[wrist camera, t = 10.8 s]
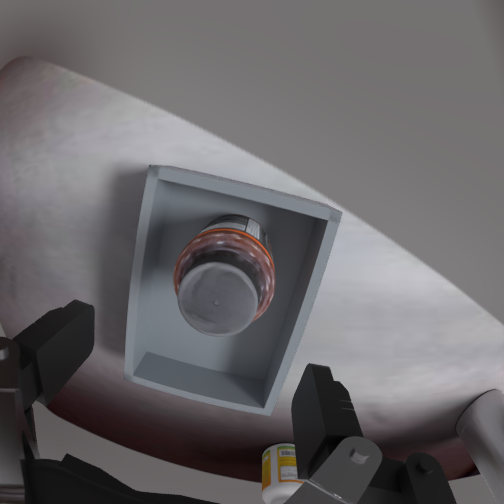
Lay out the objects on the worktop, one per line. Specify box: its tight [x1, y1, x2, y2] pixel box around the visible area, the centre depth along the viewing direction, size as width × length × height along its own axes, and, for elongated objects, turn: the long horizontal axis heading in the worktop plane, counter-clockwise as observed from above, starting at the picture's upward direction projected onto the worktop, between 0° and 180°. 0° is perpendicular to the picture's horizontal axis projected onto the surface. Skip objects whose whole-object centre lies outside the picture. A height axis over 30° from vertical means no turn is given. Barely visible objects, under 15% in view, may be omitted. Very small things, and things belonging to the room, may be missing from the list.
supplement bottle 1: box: [173, 214, 276, 337], centre depth 20 cm, size 6×6×11 cm
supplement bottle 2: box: [262, 443, 306, 504], centre depth 28 cm, size 5×5×10 cm
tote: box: [124, 165, 342, 416], centre depth 25 cm, size 14×19×5 cm
